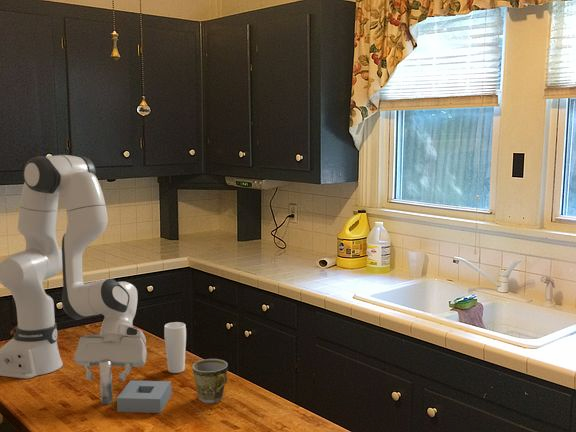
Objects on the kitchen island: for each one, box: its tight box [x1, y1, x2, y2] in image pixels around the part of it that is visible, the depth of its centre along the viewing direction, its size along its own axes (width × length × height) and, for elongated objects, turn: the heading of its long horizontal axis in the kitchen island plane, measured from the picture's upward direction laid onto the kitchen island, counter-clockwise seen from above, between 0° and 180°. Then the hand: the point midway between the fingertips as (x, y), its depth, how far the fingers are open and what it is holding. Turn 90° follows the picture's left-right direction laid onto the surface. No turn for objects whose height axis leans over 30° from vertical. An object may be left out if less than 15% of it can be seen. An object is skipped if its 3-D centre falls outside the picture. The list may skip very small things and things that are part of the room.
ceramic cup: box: [192, 358, 229, 404], centre depth 183 cm, size 13×10×10 cm
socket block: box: [116, 380, 173, 414], centre depth 182 cm, size 12×12×4 cm
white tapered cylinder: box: [163, 321, 187, 374], centre depth 204 cm, size 7×7×15 cm
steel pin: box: [98, 359, 114, 405], centre depth 182 cm, size 3×3×12 cm
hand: (105, 379), depth 181 cm, fingers open, 8 cm apart
